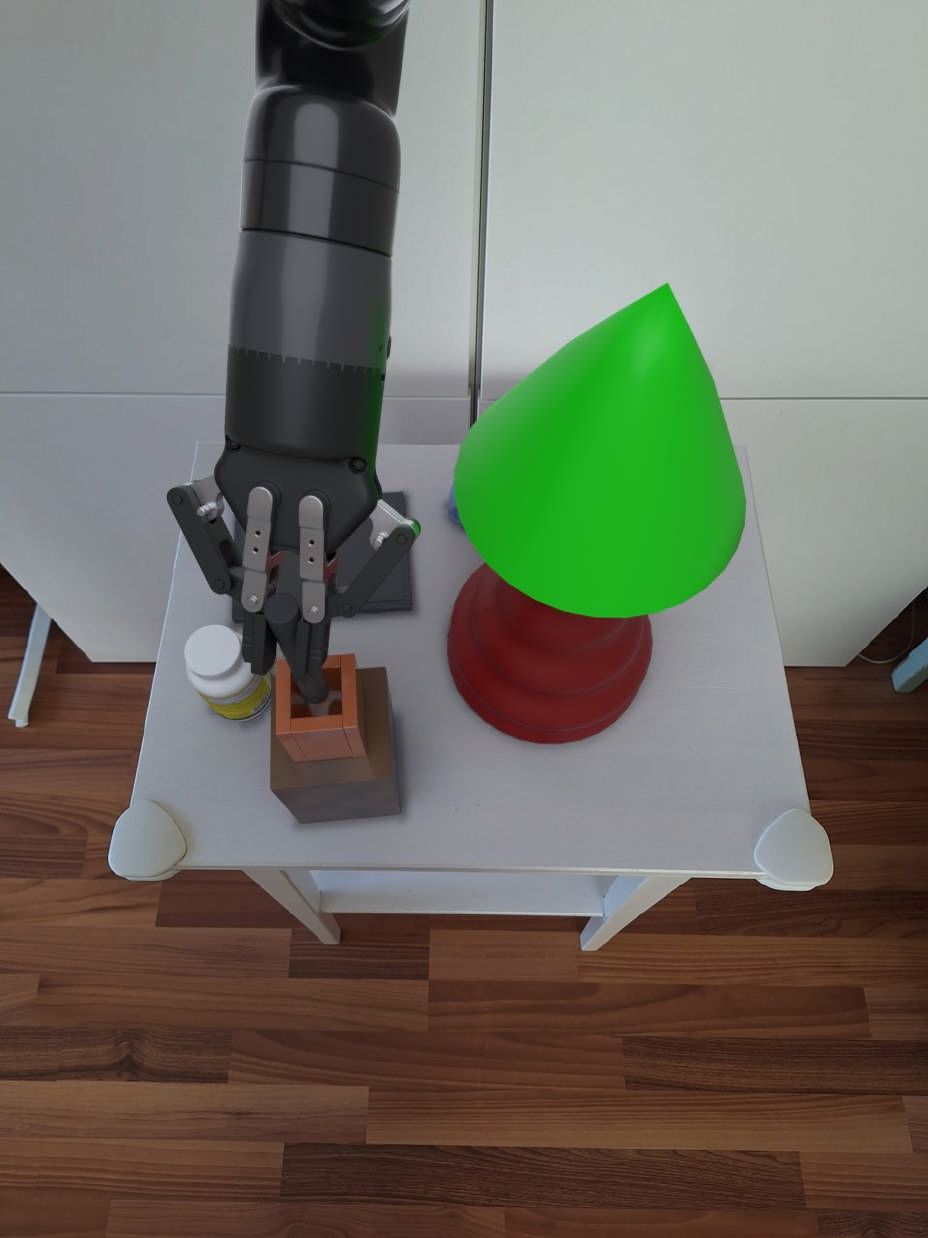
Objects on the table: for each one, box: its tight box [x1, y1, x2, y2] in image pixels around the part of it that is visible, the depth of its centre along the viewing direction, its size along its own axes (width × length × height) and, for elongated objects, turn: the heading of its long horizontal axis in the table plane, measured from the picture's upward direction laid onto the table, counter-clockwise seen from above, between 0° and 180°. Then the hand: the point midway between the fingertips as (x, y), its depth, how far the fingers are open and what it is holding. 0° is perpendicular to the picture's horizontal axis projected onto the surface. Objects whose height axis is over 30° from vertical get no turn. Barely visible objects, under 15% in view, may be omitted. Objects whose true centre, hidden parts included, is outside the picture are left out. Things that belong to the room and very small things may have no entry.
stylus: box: [264, 593, 329, 706], centre depth 46 cm, size 2×2×14 cm
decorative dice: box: [447, 480, 463, 526], centre depth 82 cm, size 4×4×4 cm
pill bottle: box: [183, 624, 272, 723], centre depth 69 cm, size 6×6×11 cm
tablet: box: [231, 491, 413, 624], centre depth 80 cm, size 18×14×1 cm
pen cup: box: [275, 652, 367, 763], centre depth 55 cm, size 5×5×8 cm
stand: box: [269, 666, 401, 825], centre depth 65 cm, size 9×9×14 cm
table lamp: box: [446, 282, 747, 745], centre depth 57 cm, size 20×20×45 cm
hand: (284, 672), depth 43 cm, fingers closed on stylus, 2 cm apart
